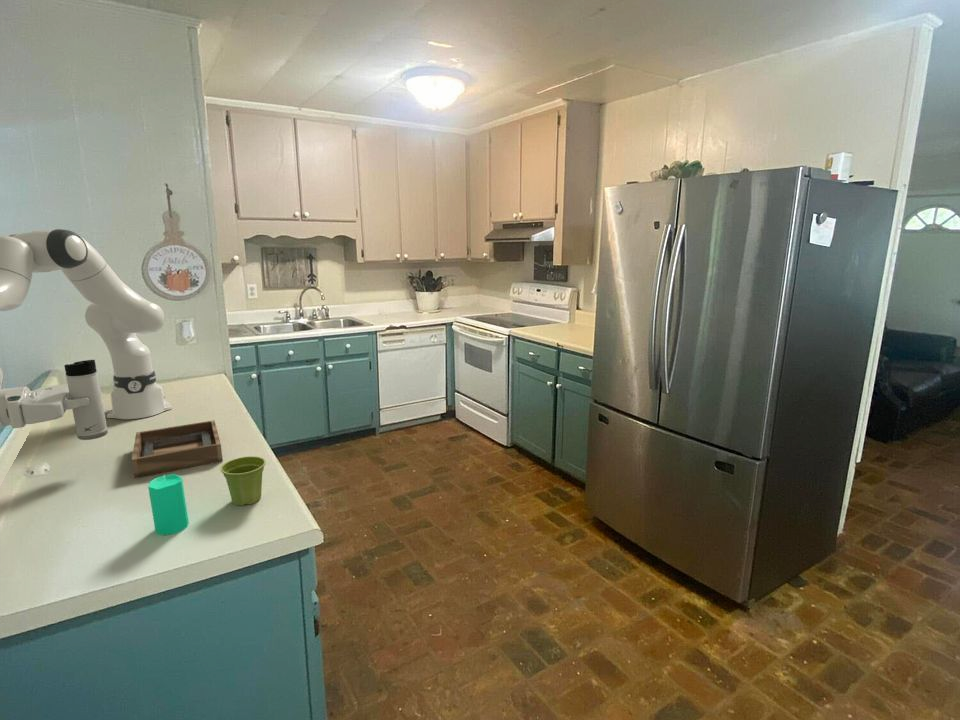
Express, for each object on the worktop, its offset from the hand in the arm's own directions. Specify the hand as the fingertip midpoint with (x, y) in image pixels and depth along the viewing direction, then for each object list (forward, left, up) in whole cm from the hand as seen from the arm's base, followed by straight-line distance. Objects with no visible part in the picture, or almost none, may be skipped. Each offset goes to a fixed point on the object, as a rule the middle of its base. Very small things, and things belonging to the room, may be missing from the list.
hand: (91, 396), depth 131 cm
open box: (0, +17, -20) cm, 26 cm away
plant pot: (+37, +30, -20) cm, 52 cm away
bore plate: (0, +17, -20) cm, 26 cm away
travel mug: (0, -1, -11) cm, 11 cm away
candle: (+42, +15, -20) cm, 49 cm away
